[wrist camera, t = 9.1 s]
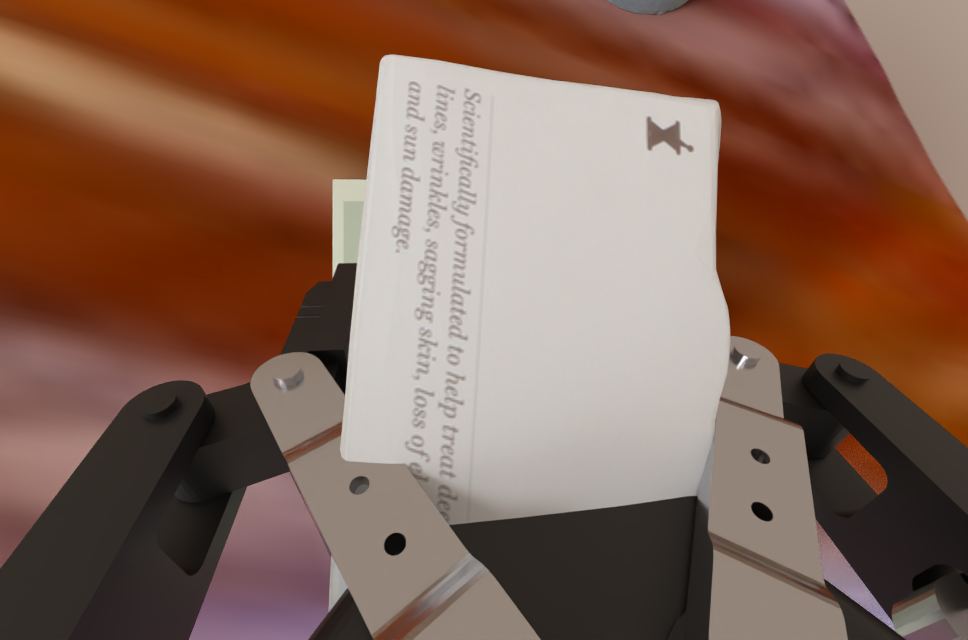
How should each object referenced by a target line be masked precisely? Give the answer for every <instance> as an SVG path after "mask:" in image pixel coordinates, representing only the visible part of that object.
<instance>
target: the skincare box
mask: <svg viewBox="0 0 968 640" xmlns="http://www.w3.org/2000/svg"><path fill="white" fill-rule="evenodd" d="M720 135H721V111H720V107H719V103H718V102H717V101H716V100H708V99H698V98H688V97H676V96H669V95H663V94H658V93H653V92H644V91H635V90H627V89H620V88H613V87H606V86H598V85H589V84H581V83H572V82H564V81H555V80H549V79H542V78H535V77H529V76H523V75H517V74H510V73H504V72H498V71H493V70H488V69H482V68H477V67H471V66H466V65H461V64H455V63H450V62H444V61H439V60H432V59H424V58H416V57H408V56H401V55H393V54H392V55H386V56H384V57H383V58H382V59H381V61H380V67H379V75H378V84H377V94H376V103H375V111H374V119H373V127H372V135H371V144H370V153H369V162H368V171H367V180H366V189H365V197H364V206H363V214H362V223H361V231H360V240H359V250H358V260H357V270H356V280H355V290H354V300H353V311H352V321H351V331H350V342H349V354H348V367H347V379H346V391H345V403H344V413H343V423H342V434H341V444H340V452H341V457H342V458H343V459H344V460H346V461H352V462H368V463H384V464H403V463H404V464H405V466H406V467H407V468H408V470H409V471H410V472H411V474H412V475H413V477H414V478H415V479H416V481H417V482H418V483H419V485H420V486H421V488H422V489H423V490H424V492H425V493H426V494H427V496H428V497H429V499H430V500H431V501H432V503H433V504H434V505H435V507H436V508H437V510H438V511H439V512H440V514H441V515H442V516H443V518H444V519H445V521H446V522H447V523H448V525H454V524H463V523H473V522H482V521H492V520H502V519H512V518H522V517H530V516H539V515H548V514H556V513H565V512H573V511H582V510H591V509H599V508H608V507H616V506H624V505H631V504H638V503H645V502H652V501H659V500H665V499H672V498H679V497H685V496H698V490H699V483H700V480H701V477H702V473H703V470H704V467H705V464H706V461H707V457H708V454H709V451H710V448H711V444H712V441H713V437H714V433H715V419H716V414H717V409H718V405H719V400H720V396H721V394H722V390H723V387H724V383H725V380H726V377H727V373H728V364H729V355H730V322H729V313H728V307H727V304H726V301H725V298H724V295H723V292H722V288H721V285H720V282H719V278H718V275H717V271H716V214H717V175H718V158H719V147H720ZM368 488H369V486H368V485H365V484H363V485H360V486H359V487H358V488H357V489H356V491H355V494H356V495H359V494H362V493H364V492H365V491H366V490H367V489H368ZM346 589H347V585H346V583H345V581H344V579H343V577H342V575H341V573H340V571H339V569H338V567H337V565H336V563H335V561H334V559H333V557H332V555H331V571H330V592H329V611H330V610H331V609H332V607H333V606H334V605H335V603H336V602H337V601H338V599H339V598H340V597H341V595H342V594H343V593H344V591H345V590H346Z"/></svg>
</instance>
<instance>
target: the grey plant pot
mask: <svg viewBox="0 0 968 640" xmlns="http://www.w3.org/2000/svg"><path fill="white" fill-rule="evenodd" d="M607 1H609V2H610V3H612V4H614V5H616V6H617V7H619V8H622V9H624V10H627V11H629V12H632V13H637V14H649V15H653V14H659V15H661V14H664V13H666V12H667V11H673V10H674V9H675V8H679V7H680V6H681V5H683V4H684V3H686V2H687V1H688V0H607Z"/></svg>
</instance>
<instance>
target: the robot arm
mask: <svg viewBox="0 0 968 640" xmlns="http://www.w3.org/2000/svg"><path fill="white" fill-rule="evenodd" d="M356 270H357V263H339V264H338V265H337V268H336V270H335V273H334V276H333V279H332V281H325V282H318V283H317V284H316V285H315V286H314V287H313V288H311V289H310V290H309V291H308V292H307V293H306V295H305V298H304V300H303V303H302V305H301V308H300V310H299V312H298V314H297V319H295V322H294V324H293V326H292V329H291V331H290V334H289V336H288V338H287V341H286V343H285V345H284V348H283V350H282V353H281V355H279V356H277V357H274V358H272V359H270V360H268V361H267V362H265V363H264V364H263V365H261V366H260V367H259V368H258V369H257V370H256V372H255V373H254V374H253V376H252V379H251V382H249V383H247V384H244V385H241V386H237V387H234V388H230V389H226V390H222V391H219V392H215V393H211V394H208V395H206V394H205V392H204V391H203V389H202V388H201V386H200V385H198V384H196V383H194V382H191V381H171V382H166V383H163V384H159V385H157V386H154V387H151V388H149V389H147V390H145V391H143V392H142V393H140V394H138V395H137V396H135V397H134V398H133V399H131V400H130V401H129V402H128V403H127V404H126V405H125V406H124V407H123V408H122V409H121V411H120V412H119V413H118V415H117V416H116V417H115V419H114V420H113V421H112V423H111V424H110V425H109V426H108V428H107V429H106V430H105V432H104V433H103V434H102V436H101V437H100V438H99V440H98V441H97V442H96V444H95V445H94V446H93V448H92V449H91V450H90V452H89V453H88V454H87V455H86V457H85V458H84V459H83V461H82V462H81V463H80V465H79V466H78V467H77V469H76V470H75V471H74V473H73V474H72V475H71V477H70V478H69V479H68V481H67V482H66V483H65V485H64V486H63V487H62V488H61V490H60V491H59V492H58V494H57V495H56V496H55V498H54V499H53V500H52V502H51V503H50V504H49V506H48V507H47V508H46V510H45V511H44V512H43V514H42V515H41V516H40V518H39V519H38V520H37V521H36V523H35V524H34V525H33V527H32V528H31V529H30V531H29V532H28V533H27V535H26V536H25V537H24V539H23V540H22V541H21V543H20V544H19V545H18V547H17V548H16V549H15V550H14V552H13V553H12V554H11V556H10V557H9V558H8V560H7V561H6V562H5V564H4V565H3V566H2V568H1V569H0V640H189V637H190V635H191V632H192V630H193V627H194V624H195V622H196V619H197V617H198V614H199V611H200V609H201V606H202V603H203V601H204V598H205V596H206V593H207V590H208V588H209V585H210V582H211V580H212V577H213V575H214V572H215V569H216V567H217V564H218V561H219V559H220V556H221V554H222V551H223V548H224V546H225V543H226V540H227V538H228V535H229V533H230V530H231V527H232V525H233V522H234V520H235V517H236V514H237V512H238V509H239V506H240V504H241V501H242V499H243V496H244V493H245V491H246V488H247V486H249V485H252V484H255V483H258V482H261V481H263V480H266V479H269V478H272V477H275V476H278V475H280V474H283V473H286V472H290V474H291V476H292V478H293V480H294V482H295V484H296V486H297V488H298V490H299V492H300V495H301V497H302V499H303V501H304V503H305V505H306V507H307V509H308V511H309V513H310V515H311V517H312V519H313V521H314V524H315V526H316V528H317V530H318V532H319V534H320V536H321V538H322V540H323V542H324V544H325V547H326V549H327V551H328V553H329V555H330V557H331V555H332V557H333V559H334V561H335V563H336V565H337V567H338V569H339V571H340V573H341V575H342V577H343V579H344V581H345V583H346V585H347V589H346V590H345V591H344V593H343V594H342V595H341V597H340V598H339V599H338V601H337V602H336V603H335V605H334V606H333V607H332V609H331V610H330V611H329V613H328V614H327V615H326V617H325V618H324V619H323V621H322V622H321V623H320V625H319V626H318V627H317V629H316V630H315V631H314V633H313V634H312V635H311V637H310V638H309V639H308V640H968V448H967V447H966V446H965V445H964V444H962V443H961V442H960V441H959V440H958V439H956V438H955V437H954V436H953V435H952V434H950V433H949V432H948V431H947V430H946V429H944V428H943V427H942V426H941V425H940V424H938V423H937V422H936V421H935V420H934V419H932V418H931V417H930V416H929V415H928V414H926V413H925V412H924V411H923V410H922V409H920V408H919V407H918V406H917V405H916V404H914V403H913V402H912V401H911V400H910V399H908V398H907V397H906V396H905V395H904V394H902V393H901V392H900V391H899V390H898V389H896V388H895V387H894V386H893V385H892V384H890V383H889V382H888V381H887V380H886V379H884V378H883V377H882V376H881V375H880V374H878V373H877V372H876V371H875V370H873V369H872V368H870V367H869V366H867V365H865V364H863V363H861V362H859V361H857V360H855V359H852V358H849V357H846V356H842V355H838V354H822V355H819V356H818V357H817V358H816V359H815V360H814V362H813V363H812V364H811V366H810V367H809V368H808V369H807V368H802V367H796V366H791V365H785V364H780V363H778V361H777V359H776V358H775V356H774V355H773V354H772V353H771V352H770V351H768V350H767V349H766V348H764V347H763V346H761V345H760V344H758V343H756V342H753V341H751V340H748V339H745V338H741V337H736V336H730V355H729V364H728V373H727V377H726V380H725V383H724V387H723V390H722V394H721V396H720V400H719V405H718V409H717V414H716V419H715V433H714V437H713V441H712V444H711V448H710V451H709V454H708V457H707V461H706V464H705V467H704V470H703V473H702V477H701V480H700V483H699V490H698V496H685V497H679V498H672V499H665V500H659V501H652V502H645V503H638V504H631V505H624V506H616V507H608V508H599V509H591V510H582V511H573V512H565V513H556V514H548V515H539V516H530V517H522V518H512V519H502V520H492V521H482V522H473V523H463V524H454V525H448V523H447V522H446V521H445V519H444V518H443V516H442V515H441V514H440V512H439V511H438V510H437V508H436V507H435V505H434V504H433V503H432V501H431V500H430V499H429V497H428V496H427V494H426V493H425V492H424V490H423V489H422V488H421V486H420V485H419V483H418V482H417V481H416V479H415V478H414V477H413V475H412V474H411V472H410V471H409V470H408V468H407V467H406V466H405V464H404V463H403V464H384V463H368V462H352V461H346V460H344V459H343V458H342V457H341V452H340V444H341V434H342V423H343V413H344V403H345V391H346V379H347V367H348V354H349V342H350V331H351V321H352V311H353V300H354V290H355V280H356ZM850 433H851V434H852V435H853V437H854V438H855V439H856V440H857V441H858V442H859V443H860V444H861V445H862V446H863V447H864V448H865V449H866V450H867V451H868V452H869V453H870V454H871V455H872V456H873V457H874V458H875V459H876V460H877V461H878V462H879V463H880V464H881V466H882V467H883V468H884V470H885V472H886V475H887V479H888V484H887V487H886V489H885V490H884V491H883V492H882V493H880V494H879V495H877V494H876V493H875V492H874V491H873V489H872V488H871V487H870V486H869V485H868V484H867V483H866V482H865V481H864V480H863V478H862V477H861V476H860V475H859V474H858V473H857V472H856V471H855V470H854V468H853V467H852V466H851V465H850V464H849V463H848V462H847V461H846V460H845V459H844V457H843V456H842V455H841V454H840V453H839V452H838V451H837V450H836V449H835V448H836V447H837V446H838V445H839V444H840V443H841V442H842V441H843V440H844V439H845V438H846V437H847V436H848V435H849V434H850ZM363 484H365V485H368V486H369V488H368V489H367V490H366V491H365V492H364V493H362V494H359V495H356V494H355V491H356V489H357V488H358V487H359V486H360V485H363ZM815 518H816V520H817V521H818V522H819V524H820V525H821V526H822V528H823V529H824V530H825V532H826V533H827V534H828V536H829V537H830V538H831V540H832V541H833V542H834V544H835V545H836V546H837V548H838V549H839V550H840V552H841V553H842V554H843V556H844V557H845V559H846V560H847V561H848V563H849V564H850V565H851V567H852V568H853V569H854V571H855V572H856V573H857V575H858V576H859V577H860V579H861V580H862V581H863V583H864V584H865V585H866V587H867V588H868V589H869V591H870V592H871V593H872V595H873V596H874V597H875V599H876V600H877V601H878V603H879V604H880V606H881V607H882V608H883V610H884V611H885V612H886V614H887V615H888V616H889V618H890V619H891V620H892V622H893V624H894V627H895V630H896V632H895V631H894V630H893V629H891V628H890V627H889V626H887V625H886V624H885V623H883V622H882V621H880V620H879V619H878V618H876V617H875V616H874V615H872V614H871V613H870V612H868V611H867V610H866V609H864V608H863V607H862V606H860V605H859V604H858V603H856V602H855V601H853V600H852V599H851V598H849V597H848V596H847V595H845V594H844V593H843V592H841V591H840V590H839V589H837V588H836V587H835V586H833V585H832V584H831V583H829V582H828V581H826V580H825V579H824V578H823V571H822V564H821V557H820V549H819V542H818V534H817V527H816V520H815Z"/></svg>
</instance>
